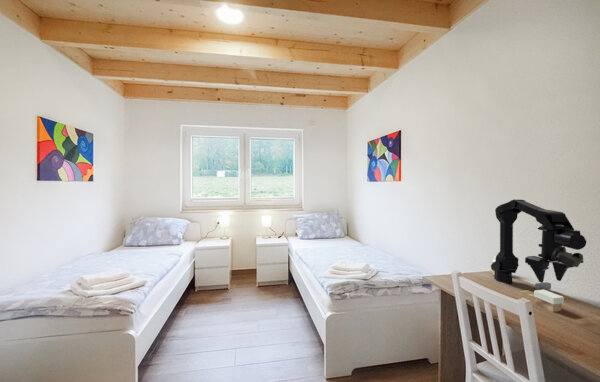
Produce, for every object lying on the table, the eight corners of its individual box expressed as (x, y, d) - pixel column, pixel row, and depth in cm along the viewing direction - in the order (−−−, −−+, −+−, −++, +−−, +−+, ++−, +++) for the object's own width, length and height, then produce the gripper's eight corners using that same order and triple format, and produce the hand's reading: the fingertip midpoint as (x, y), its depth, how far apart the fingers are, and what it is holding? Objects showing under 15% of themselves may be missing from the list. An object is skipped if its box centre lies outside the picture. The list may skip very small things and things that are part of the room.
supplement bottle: (502, 278, 134) (503, 259, 133) (489, 274, 139) (490, 256, 138) (506, 276, 137) (507, 257, 136) (493, 272, 142) (494, 254, 141)
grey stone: (544, 291, 118) (545, 281, 118) (552, 294, 115) (552, 284, 115) (533, 293, 117) (533, 282, 116) (540, 295, 114) (540, 285, 114)
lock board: (507, 295, 114) (507, 285, 114) (529, 292, 117) (530, 283, 117) (551, 315, 98) (552, 303, 97) (576, 311, 100) (576, 300, 100)
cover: (533, 296, 104) (534, 290, 104) (543, 295, 105) (543, 289, 105) (553, 304, 97) (553, 298, 97) (563, 303, 98) (563, 297, 98)
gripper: (558, 249, 90) (556, 292, 91) (596, 247, 94) (594, 287, 95) (524, 242, 101) (523, 280, 102) (560, 240, 105) (558, 276, 106)
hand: (550, 281), depth 101 cm, fingers open, 9 cm apart
